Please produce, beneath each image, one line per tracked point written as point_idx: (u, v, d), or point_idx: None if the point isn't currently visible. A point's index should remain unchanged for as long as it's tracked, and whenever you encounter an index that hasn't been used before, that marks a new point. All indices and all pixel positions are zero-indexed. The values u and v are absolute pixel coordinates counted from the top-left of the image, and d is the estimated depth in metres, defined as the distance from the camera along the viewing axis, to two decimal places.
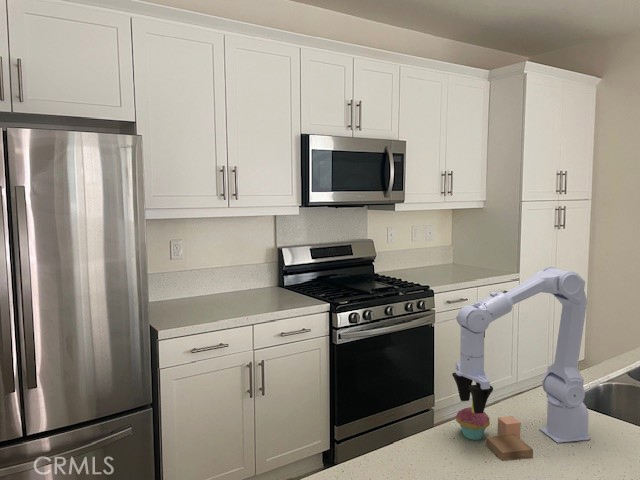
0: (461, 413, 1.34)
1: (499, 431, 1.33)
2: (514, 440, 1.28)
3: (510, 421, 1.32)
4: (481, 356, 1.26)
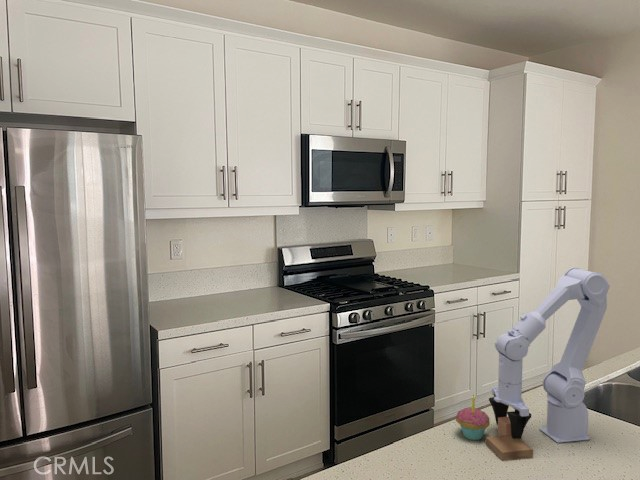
0: (461, 413, 1.34)
1: (499, 431, 1.33)
2: (514, 440, 1.28)
3: None
4: (519, 383, 1.29)
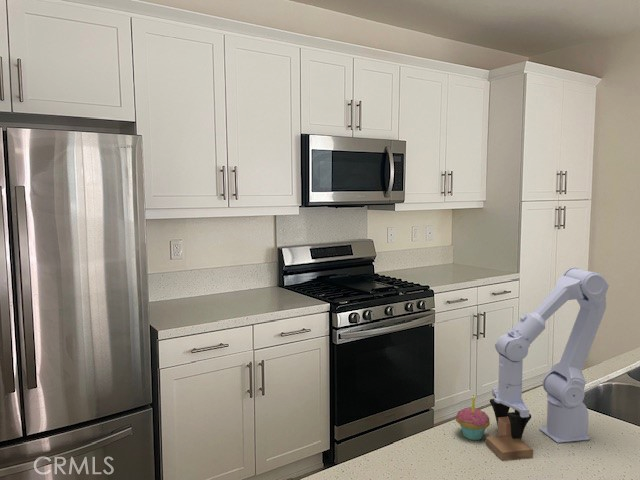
0: (461, 413, 1.34)
1: (499, 431, 1.33)
2: (514, 440, 1.28)
3: None
4: (519, 384, 1.29)
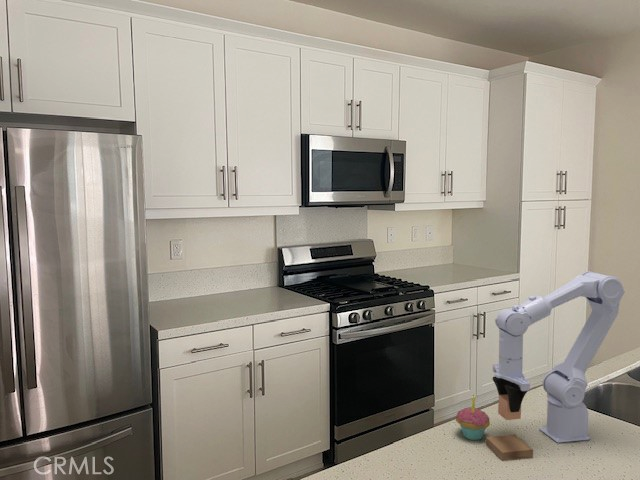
0: (461, 413, 1.34)
1: (500, 408, 1.33)
2: (514, 440, 1.28)
3: None
4: (520, 358, 1.29)
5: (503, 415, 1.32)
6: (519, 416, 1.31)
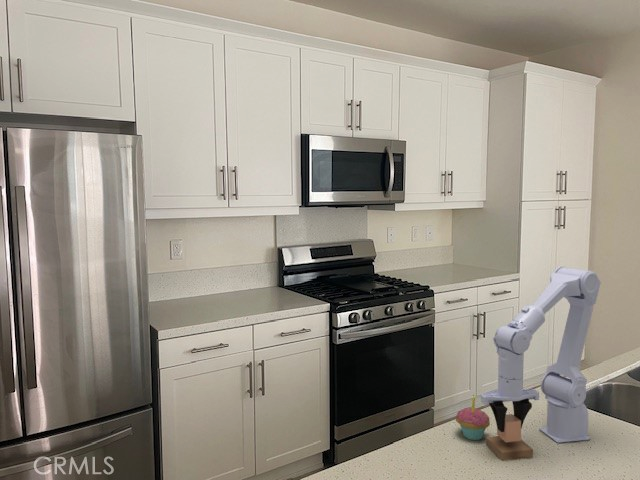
0: (461, 413, 1.34)
1: None
2: None
3: (505, 418, 1.26)
4: (503, 377, 1.23)
5: None
6: (505, 439, 1.24)
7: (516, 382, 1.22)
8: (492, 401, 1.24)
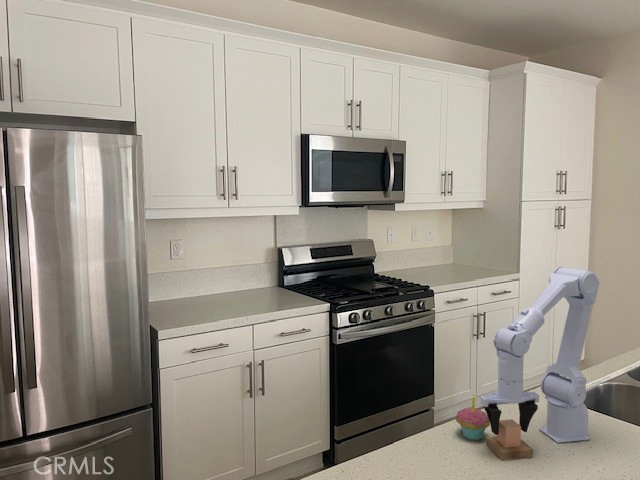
0: (461, 413, 1.34)
1: None
2: None
3: (505, 423, 1.26)
4: (503, 380, 1.23)
5: None
6: (504, 444, 1.24)
7: (516, 384, 1.22)
8: (492, 403, 1.24)
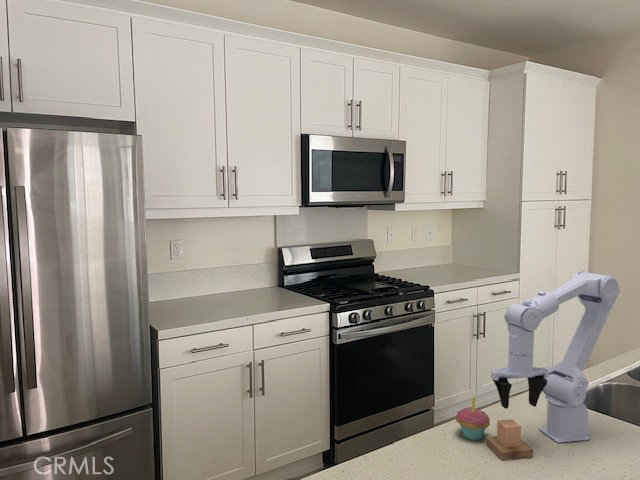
0: (461, 413, 1.34)
1: None
2: None
3: (505, 423, 1.26)
4: (514, 354, 1.25)
5: None
6: (504, 444, 1.24)
7: (526, 358, 1.24)
8: (502, 377, 1.26)
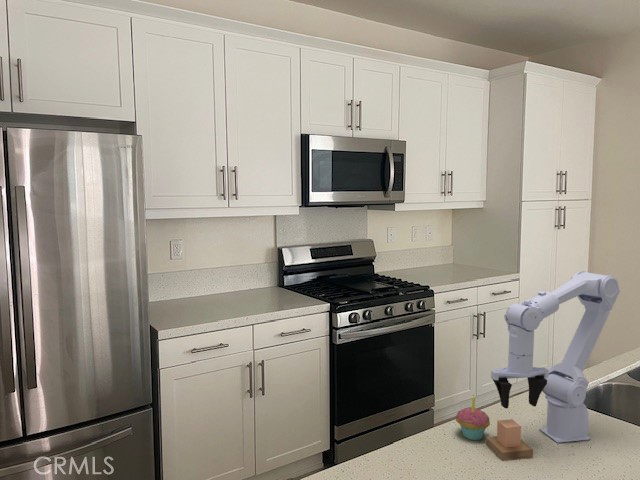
0: (461, 413, 1.34)
1: None
2: None
3: (505, 423, 1.26)
4: (514, 354, 1.25)
5: None
6: (504, 444, 1.24)
7: (526, 358, 1.24)
8: (502, 377, 1.26)
